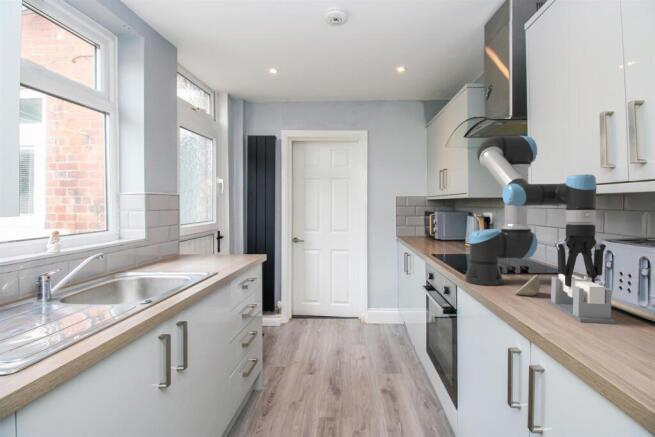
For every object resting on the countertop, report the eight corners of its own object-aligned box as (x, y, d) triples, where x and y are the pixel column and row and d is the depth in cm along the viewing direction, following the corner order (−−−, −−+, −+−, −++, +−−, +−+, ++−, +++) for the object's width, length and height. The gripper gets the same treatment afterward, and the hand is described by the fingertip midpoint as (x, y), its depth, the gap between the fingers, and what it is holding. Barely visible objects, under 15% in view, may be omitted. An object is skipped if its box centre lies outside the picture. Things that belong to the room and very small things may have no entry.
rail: (558, 288, 116) (558, 273, 115) (571, 288, 115) (571, 274, 115) (589, 303, 98) (589, 286, 98) (604, 304, 97) (604, 287, 97)
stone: (508, 294, 133) (519, 273, 135) (525, 303, 131) (536, 281, 133) (520, 292, 123) (531, 269, 125) (538, 302, 121) (549, 278, 123)
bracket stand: (548, 302, 118) (548, 275, 117) (576, 303, 116) (577, 276, 116) (580, 322, 98) (580, 290, 98) (615, 323, 96) (615, 291, 96)
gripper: (556, 224, 104) (555, 298, 104) (619, 224, 100) (617, 301, 101) (545, 223, 111) (544, 292, 112) (603, 223, 108) (602, 294, 109)
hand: (579, 296), depth 106 cm, fingers closed on rail, 4 cm apart
